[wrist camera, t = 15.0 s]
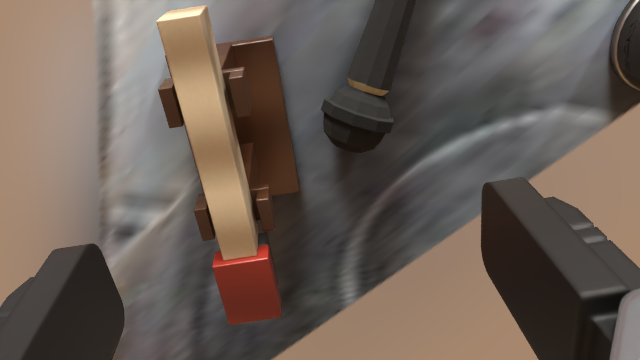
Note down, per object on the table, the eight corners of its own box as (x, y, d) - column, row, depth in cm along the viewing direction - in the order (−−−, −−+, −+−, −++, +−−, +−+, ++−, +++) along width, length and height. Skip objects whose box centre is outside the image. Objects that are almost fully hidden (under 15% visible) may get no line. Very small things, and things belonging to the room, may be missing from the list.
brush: (154, 12, 28) (139, 24, 25) (219, 2, 28) (212, 13, 25) (232, 292, 37) (229, 325, 34) (281, 285, 37) (281, 317, 34)
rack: (167, 49, 38) (129, 93, 28) (272, 32, 38) (270, 71, 28) (208, 199, 44) (189, 278, 34) (299, 185, 44) (305, 260, 34)
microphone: (402, -128, 36) (320, 132, 42) (399, -159, 31) (305, 145, 37) (475, -107, 36) (382, 153, 42) (485, -134, 30) (376, 170, 36)
